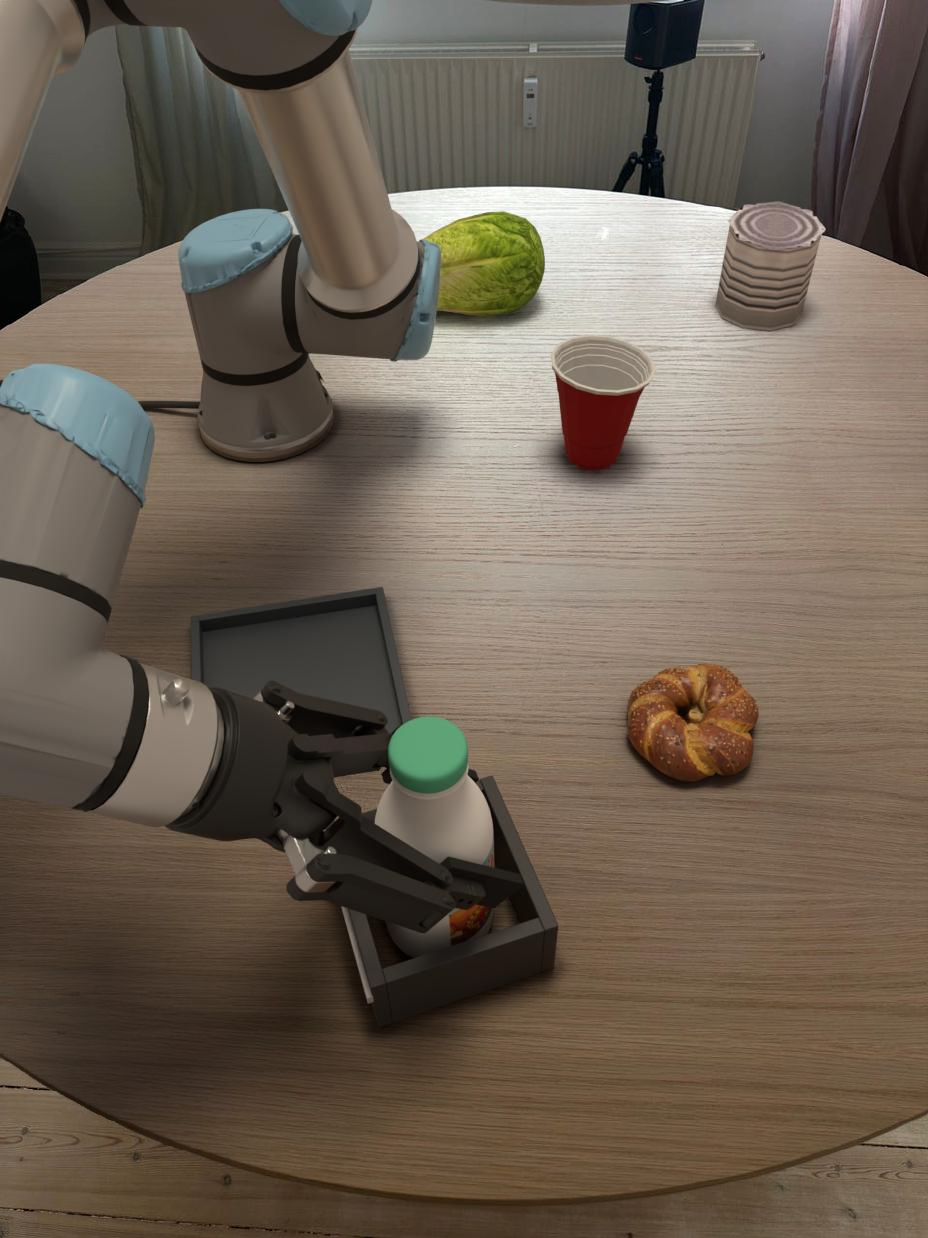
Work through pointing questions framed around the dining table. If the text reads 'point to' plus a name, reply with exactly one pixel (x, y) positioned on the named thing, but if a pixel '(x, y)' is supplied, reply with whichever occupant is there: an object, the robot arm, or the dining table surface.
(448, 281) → the lettuce
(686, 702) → the pretzel
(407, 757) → the milk bottle
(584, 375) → the plastic cup
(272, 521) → the dining table surface
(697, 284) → the dining table surface
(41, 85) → the robot arm
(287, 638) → the tray
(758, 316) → the can
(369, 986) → the collar base
